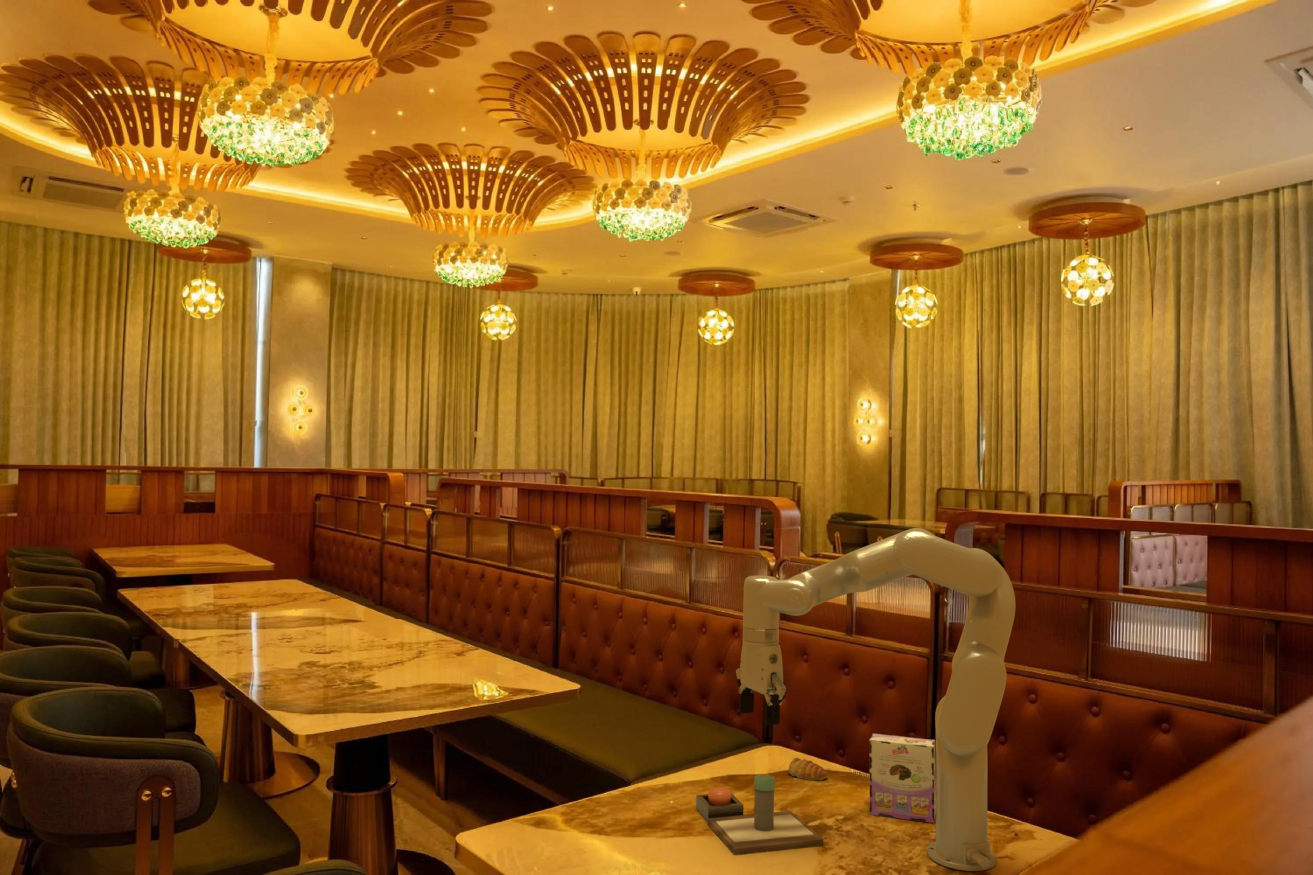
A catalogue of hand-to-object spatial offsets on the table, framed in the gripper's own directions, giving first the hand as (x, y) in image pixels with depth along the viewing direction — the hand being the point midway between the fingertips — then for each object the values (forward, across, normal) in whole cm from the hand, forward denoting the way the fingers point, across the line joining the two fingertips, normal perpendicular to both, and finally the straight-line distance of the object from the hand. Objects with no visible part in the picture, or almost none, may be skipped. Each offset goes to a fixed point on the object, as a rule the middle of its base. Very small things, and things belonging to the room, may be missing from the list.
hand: (759, 718), depth 187 cm
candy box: (+23, -5, -35) cm, 42 cm away
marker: (+22, -2, -1) cm, 22 cm away
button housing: (+23, +12, +2) cm, 26 cm away
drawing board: (+23, -2, -1) cm, 23 cm away
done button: (+21, +12, +2) cm, 24 cm away
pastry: (+24, +26, -31) cm, 47 cm away
